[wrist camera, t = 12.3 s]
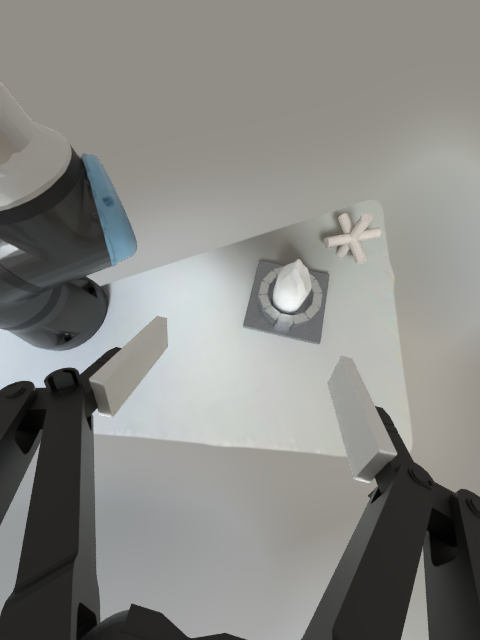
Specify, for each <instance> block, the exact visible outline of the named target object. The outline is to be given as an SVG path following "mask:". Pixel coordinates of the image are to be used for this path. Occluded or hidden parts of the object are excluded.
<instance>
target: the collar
mask: <svg viewBox="0 0 480 640" xmlns="http://www.w3.org/2000/svg"><path fill="white" fill-rule="evenodd" d="M284 267H285V265H280V264H275V263H270V262H265V261H260V260H259V264H258V268H257V272H256V276H255V280H254V284H253V288H252V292H251V296H250V300H249V304H248V308H247V312H246V316H245V320H244V325H243V327H244V328H249V329H253V330H257V331H262V332H266V333H270V334H275V335H279V336H283V337H288V338H292V339H296V340H301V341H305V342H309V343H314V344H320V340H321V333H322V325H323V318H324V311H325V303H326V296H327V289H328V281H329V274H325V273H320V272H315V271H310V270H308V272H309V275H310V280H311V285H312V288H311V291H310V292H309V294H308V296H307V297H306V298H305V300H304V301H303V303H302V304H301V306H300V307H299V309H298V310H297V311H296V312H294V313H291V314H286V313H282V312H280V311H279V310H278V309H276V307H275V306H274V304H273V301H272V298H273V290H274V287H275V284H276V281H277V277H278V275H279V273H280V271H281V270H282V269H283V268H284Z"/></svg>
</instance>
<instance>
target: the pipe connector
mask: <svg viewBox="0 0 480 640" xmlns="http://www.w3.org/2000/svg"><path fill="white" fill-rule="evenodd" d="M372 220H373V217H372V215H370V214H368V213H365V214H363V215H362V216H361V218H360V219H359V220H358V222H357V223H356V225H355V226H354V227H353V225H352V223H351V220H350V218H349V216H348V214H347V213H344V214H342V215H340V216H339V218H338V221H339V223H340V226H341V228H342V230H343V233H344V234H342V235H336V236H331V237H326V238H325V239H324V246H325V247H326V248H328V247H333V246H338V245H341V246H340V248H339V249H338V250H337V252H336V256H337V257H339V258H343V257H344V256H345V255H346V253H347V252H348V251H349V250H350V249H351V252H352V254H353V256H354V259H355V261H356V264H361V263H364V262H365V261H367V256H366V254H365V252H364V250H363V247H362V245H361V243H360V241H364V240H370V239H375V238H379V237H380V236H381V229H380V228H373V229H368V230H365V229H366V228H367V227H368V225H369V224H370V223H371V222H372Z"/></svg>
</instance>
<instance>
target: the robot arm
mask: <svg viewBox="0 0 480 640" xmlns="http://www.w3.org/2000/svg"><path fill="white" fill-rule="evenodd" d="M136 250H137V242H136V238H135V235H134V232H133V230H132V227H131V225H130V222H129V220H128V218H127V215H126V213H125V210H124V208H123V206H122V204H121V201H120V199H119V197H118V195H117V193H116V190H115V188H114V186H113V184H112V182H111V180H110V178H109V176H108V174H107V173H106V171H105V169H104V167H103V165H102V164H101V163H100V161H99V159H98V158H97V157H96V156H95V155H87V154H82V156H81V157H79V156H78V155H77V154H76V152H75V151H74V149H73V148H72V147H71V145H70V144H69V143H68V141H67V140H66V139H65V138H64V136H63V135H62V134H60V133H59V132H57V131H55V130H53V129H50V128H48V127H45V126H43V125H40V124H38V123H36V122H34V121H33V120H31V119H30V118H29V117H28V115H27V114H26V113H25V112H24V110H23V109H22V108H21V107H20V105H19V104H18V103H17V101H16V100H15V99H14V98H13V96H12V95H11V94H10V93H9V91H8V90H7V89H6V88H5V86H4V85H3V84H2V82H1V81H0V329H4V330H8V331H10V332H11V333H13V334H14V335H16V336H18V337H19V338H21V339H23V340H24V341H26V342H28V343H29V344H31V345H33V346H35V347H38V348H42V349H48V350H54V351H62V350H68V349H72V348H75V347H77V346H79V345H81V344H83V343H84V342H86V341H87V340H88V339H90V338H91V337H92V336H93V335H94V334H95V333H96V332H97V330H98V329H99V328H100V326H101V324H102V322H103V320H104V318H105V315H106V310H107V301H106V296H105V294H104V292H103V290H102V289H101V287H100V286H99V285H98V284H96V283H95V282H94V281H92V280H91V279H89V278H87V277H86V276H87V275H89V274H92V273H94V272H97V271H100V270H102V269H105V268H107V267H110V266H115V265H116V263H118V262H120V261H122V260H125V259H126V258H129V257H131V256H132V255H133V254H134V253H135V252H136ZM167 347H168V340H167V318H164V317H159V316H157V317H156V318H155V319H154V320H152V321H151V322H150V323H149V324H148V325H147V326H146V327H145V328H144V329H143V330H142V331H140V332H139V333H138V334H137V335H136V336H135V337H134V338H133V339H132V340H131V341H130V342H128V343H127V344H126V345H125V346H124V347H123V348H118V347H115V348H113V349H111V350H109V351H107V352H106V353H105V354H104V355H102V356H101V358H99V359H98V360H97V361H96V362H94V363H93V364H92V365H91V366H90V367H88V368H87V369H86V370H85V371H84V372H83V373H81V374H80V375H79V372H78V370H77V369H75V368H62V369H59V370H56V371H54V372H52V373H50V374H49V375H48V376H47V377H46V378H45V380H44V383H45V385H46V387H47V388H35V386H34V384H33V383H32V382H30V381H20V382H15V383H13V384H10V385H8V386H6V387H4V388H3V389H1V390H0V524H1V523H2V520H3V518H4V516H5V514H6V512H7V510H8V508H9V506H10V504H11V502H12V500H13V498H14V496H15V493H16V491H17V489H18V487H19V485H20V483H21V481H22V479H23V477H24V475H25V473H26V470H27V468H28V466H29V464H30V462H31V460H32V458H33V456H34V454H35V452H36V450H37V447H38V445H39V443H40V441H41V443H40V449H39V455H38V460H37V466H36V472H35V477H34V483H33V489H32V494H31V500H30V506H29V511H28V517H27V523H26V529H25V534H24V540H23V546H22V551H21V557H20V563H19V568H18V574H17V580H16V584H15V588H14V590H13V593H12V594H11V595H10V596H9V598H8V599H7V600H6V602H5V604H4V607H3V609H2V612H1V616H0V640H246V639H242V638H239V637H236V636H233V635H230V634H227V633H222V634H216V635H210V636H204V637H198V638H189V637H187V636H186V635H185V634H184V633H183V632H182V631H180V630H179V629H178V628H177V627H176V626H175V625H174V624H173V623H172V622H171V621H170V620H168V619H167V618H166V617H165V616H164V615H163V614H162V613H160V612H156V611H154V610H150V609H147V608H144V607H141V606H137V605H135V604H131V607H130V609H129V610H126V611H122V612H119V613H116V614H114V615H112V616H110V617H108V618H107V619H105V620H104V621H102V622H101V623H100V598H99V588H98V582H97V575H96V537H95V491H94V490H95V489H94V441H93V440H94V438H93V415H92V413H93V412H94V411H95V410H96V409H97V408H98V411H99V415H103V416H107V417H111V418H113V416H114V415H115V414H116V413H117V411H118V410H119V409H120V407H121V406H122V405H123V404H124V402H125V401H126V400H127V398H128V397H129V396H130V395H131V393H132V392H133V391H134V389H135V388H136V387H137V386H138V384H139V383H140V382H141V380H142V379H143V378H144V377H145V375H146V374H147V373H148V371H149V370H150V369H151V368H152V366H153V365H154V364H155V363H156V361H157V360H158V359H159V357H160V356H161V355H162V354H163V352H164V351H165V350H166V348H167ZM328 387H329V391H330V394H331V398H332V402H333V405H334V409H335V413H336V416H337V420H338V423H339V427H340V431H341V434H342V438H343V442H344V445H345V449H346V453H347V456H348V460H349V464H350V467H351V471H352V474H353V478H354V479H355V480H359V481H363V482H367V483H370V482H371V481H372V480H373V479H374V478H375V479H376V482H377V485H378V487H376V488H375V489H374V491H372V492H371V493H370V494H369V495H368V496H369V497H370V500H369V502H368V504H367V507H366V508H365V511H364V513H363V515H362V517H361V519H360V521H359V523H358V525H357V527H356V529H355V531H354V533H353V535H352V537H351V539H350V542H349V544H348V545H347V548H346V550H345V552H344V554H343V556H342V558H341V560H340V562H339V564H338V566H337V568H336V570H335V572H334V574H333V576H332V578H331V580H330V582H329V585H328V587H327V589H326V591H325V593H324V595H323V597H322V599H321V601H320V603H319V605H318V607H317V609H316V612H315V613H314V616H313V617H312V620H311V622H310V624H309V626H308V628H307V630H306V632H305V634H304V636H303V638H302V639H301V640H401V636H402V632H403V628H404V623H405V619H406V615H407V610H408V606H409V602H410V598H411V594H412V590H413V585H414V581H415V576H416V573H417V568H418V564H419V560H420V556H421V552H422V547H423V552H424V568H425V583H426V599H427V614H428V630H429V640H480V497H479V496H477V495H476V494H475V493H473V492H470V491H468V490H466V489H460V490H459V491H457V492H456V493H454V492H452V491H450V490H448V489H447V488H445V487H443V486H441V485H439V484H437V483H435V482H434V481H433V479H432V478H431V476H430V475H429V474H428V472H426V471H425V470H424V469H423V468H422V467H421V466H419V465H418V464H416V463H414V461H413V460H412V458H411V456H410V454H409V452H408V450H407V448H406V446H405V444H404V443H403V441H402V439H401V437H400V435H399V434H398V431H397V429H396V427H394V424H393V422H392V420H391V418H390V416H389V415H388V414H387V413H386V412H385V411H384V409H383V408H381V407H376V406H374V404H373V401H372V399H371V397H370V395H369V393H368V391H367V389H366V387H365V385H364V383H363V381H362V378H361V376H360V374H359V372H358V370H357V368H356V366H355V364H354V362H353V360H352V358H348V357H343V356H341V357H340V359H339V361H338V363H337V365H336V367H335V369H334V371H333V373H332V375H331V377H330V379H329V381H328Z"/></svg>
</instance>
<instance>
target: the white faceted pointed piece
mask: <svg viewBox="0 0 480 640" xmlns="http://www.w3.org/2000/svg"><path fill="white" fill-rule="evenodd" d="M311 288H312V285H311V280H310V275H309V272H308V269H307V268H306V267H305V266H304V265H303V264H302V262H301V260H300V259H297V260H296V261H295V262H294V263H290V264H287V265H286V266H285V267H284V268H283V269H282V270H281V271H280V273H279V275H278V277H277V281H276V284H275V287H274V290H273V298H272V301H273V304H274V306H275V307H276V309H278V310H279V311H280V312H282V313H286V314H291V313H294V312H296V311H297V310H298V309H299V307H300V306H301V304H302V303H303V301H304V300H305V298H306V297H307V296H308V294H309V292H310V291H311Z"/></svg>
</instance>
